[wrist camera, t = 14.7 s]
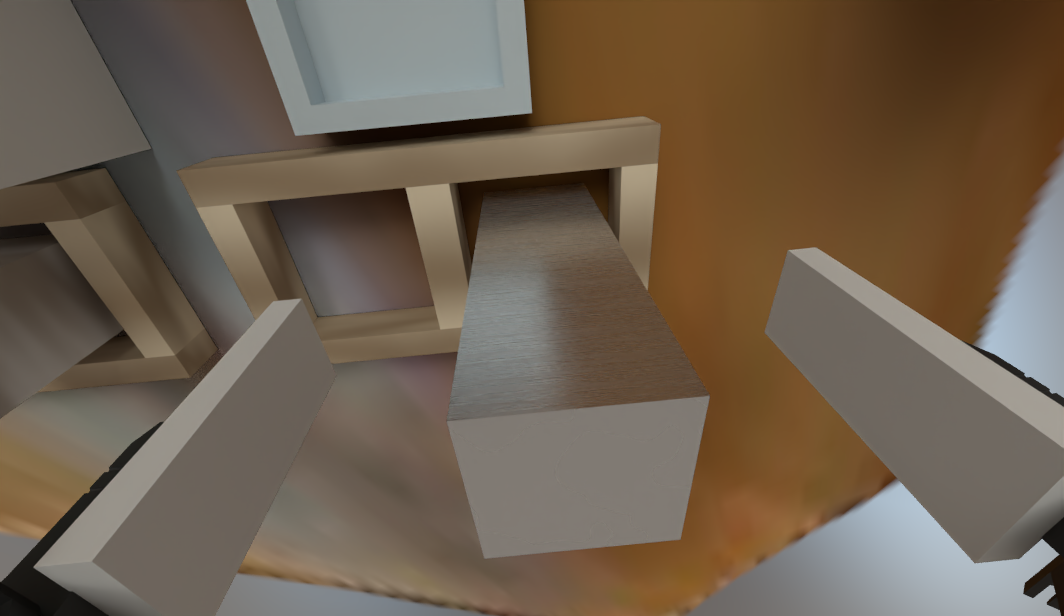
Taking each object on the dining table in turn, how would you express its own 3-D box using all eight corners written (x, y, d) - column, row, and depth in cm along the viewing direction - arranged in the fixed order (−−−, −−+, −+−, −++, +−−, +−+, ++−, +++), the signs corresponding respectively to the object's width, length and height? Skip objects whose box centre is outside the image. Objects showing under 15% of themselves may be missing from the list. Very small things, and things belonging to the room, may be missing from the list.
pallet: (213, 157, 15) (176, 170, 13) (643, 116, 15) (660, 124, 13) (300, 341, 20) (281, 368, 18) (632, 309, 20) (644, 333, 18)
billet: (484, 192, 16) (446, 421, 6) (583, 183, 16) (709, 395, 6) (497, 285, 19) (485, 564, 8) (584, 276, 19) (678, 546, 8)
